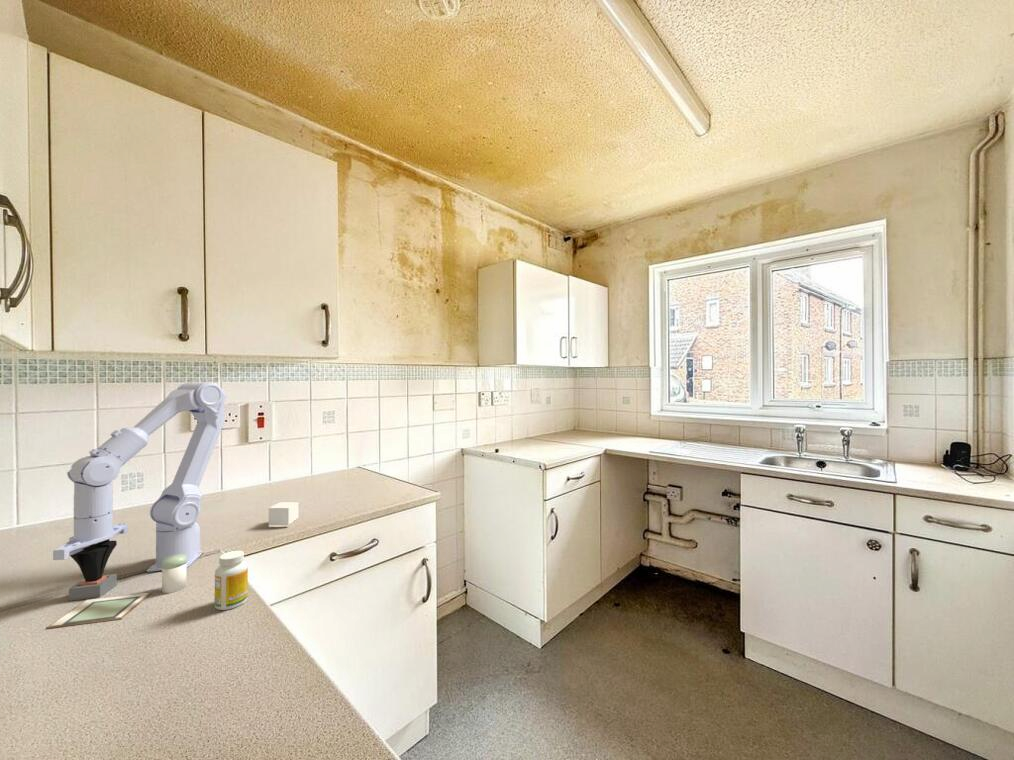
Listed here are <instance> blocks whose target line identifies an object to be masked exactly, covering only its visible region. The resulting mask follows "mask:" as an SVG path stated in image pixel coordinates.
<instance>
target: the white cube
mask: <svg viewBox="0 0 1014 760" xmlns="http://www.w3.org/2000/svg"><path fill="white" fill-rule="evenodd" d="M299 505H300V503H299V502H297V501H296V502H295V501H287V502H286V501H285V502H284V501H283V502H282V501H280V502H278V503H275V504H274V505H271V506H269V507H268V526H269V525H289V524H290V523H292V522H293V521H294V520H296V519H297V518H300V517H299V514H300V513H299V510H300V509H299Z"/></svg>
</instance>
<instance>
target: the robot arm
mask: <svg viewBox="0 0 1014 760" xmlns="http://www.w3.org/2000/svg"><path fill="white" fill-rule="evenodd" d="M226 399H227V394H226V393H225V391H224V390H223V389H222V387H221V386H220V385H219V384H217V383H215V382H213V381H212V382H210V381H208V382H185V383H182V384H181V385H179V386H178V387H177V388H176V389H174V390H172V391H170V392H169V394H168V395H167V396H166V397H165V398H164V399H163V401H161V402H160V403H158V405H157V406H155V407H154V408H153V409H152V410H151V411H150V412H149V413H148V414H146V415H145V416H144V417H143V418H142V419H141V420H140V421H139V422H138V423H136V424H135V425H134V426H133V427H124V428H121V429H120V430H114V431H113V432H111V433H110V436H111V437H110V438H109V439H107V440H106V441H105V442H103V443H102V444H101V445H100V446H98V447H97V448H92V449H91V450H90V451H89V452H88V453H89V456H88V455H87V456H85V457H81V458H78V459H77V460H76V461H74V462H73V464H72V465H71V468H70V469H69V471H67V473H66V474H67V478H68V479H69V480H70V481H71V482H72V483H73V489H74V490H73V536H71V537H69V538H68V539H69V540H68V542H66V543H64V544H63V545H61V546H59V547H58V548H55V549H53V550H52V561H63V560H64V561H65V560H67V559H69V558H70V557H71V558H72V560H74V562H75V563H76V564H77V565H78V567H79V569H80V570H81V574H82V576H83V580H84V579H85V581H86V582H90V581H97V580H99V579H101V578H102V575H104V571H105V568H106V566H107V564H108V561H109V558H110V556H111V554H112V552H113V551H114V550H115V548H116V547H117V545H118V544H117V540H111V539H112V538H114V537H117V536H119V535H121V534H127V533H128V532H129V523H117V524H114V507H113V504H114V489H113V487H114V486H113V482H114V480H116V479H117V478H118V477H119V474H120V471H121V468H122V467H123V466H124V465H125V464H126V463H128V462H129V461H130V460H131V459H132V458H134V456H136V455H137V454H138V453H140V451H142V450H143V449H144V448H145V447H146V446H147V445H148V444H149V443H148V442H149V437H150V435H152V434H153V433H155V431H157V430H158V429H159V428H161V427H162V426H163V425H165V424H166V423H168V422H169V421H170V420H171V419H173V418H174V417H175V416H177V415H178V414H179V413H182V412H187V411H188V412H190V413H191V414H192V415H193V417H194V418H195V420H196V422H197V423H196V425H195V427H194V430H193V432H192V435H191V437H190V439H189V442H188V445H187V446H186V450H185V451H184V454H183V456H182V459H181V461H180V464H179V466H178V468H177V471H176V473H175V475H174V478H173V480H172V483H171V484H169V485H168V486H167V487H166V488H164V489H163V490H162V492H161V494H160V496H159V497H158V499H157V500H156V501H155V502H154V503H153V504H152V505H151V507H150V508H149V509H150V510H149V516H150V518H151V520H152V521H154V522H155V524H156V525H155V563H154V564H152V565H151V566H150V567H149V568H147V569H146V572H147V573H149V572H151V573H152V572H158V571H161V572H162V559H164V558H166V557H168V556H171V555H175V554H186V568H188V567H189V566H190V565H191V564H193V563H194V562H195V561H196V560H197V559H199V557H201V556H202V555H201V553H200V554H197V553H198V552H202V550H203V551H205V549H201V527H200V525H199V524H198V523H197V522H196V521H197V520H198V519H199V517H200V515H201V513H202V512H201V510H202V508H201V502H202V499H203V494H202V492H201V490H200V485H201V482H202V480H203V477H204V474H205V472H206V470H207V468H208V465H209V462H210V460H211V456H212V454H213V452H214V449H215V447H216V444H217V442H218V439H219V437H220V435H221V431H222V429H223V426H224V424H225V421H226V412H225V401H226ZM200 555H201V556H200Z"/></svg>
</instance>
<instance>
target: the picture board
mask: <svg viewBox="0 0 1014 760" xmlns="http://www.w3.org/2000/svg"><path fill="white" fill-rule="evenodd" d="M152 593H153V592H152V591H150V592H140V593H132V594H126V595H125V594H123V595H117V596H109V597H108V596H107V597H97V598H89V599H84V601H83V602H81V603H79V604H78V605H76V606H75V607H74V608H72V609H70V611H68V612H66V613H65V614H64V615H62V616H61V617H60V618H59V617H58V619H57V620H55V621H54V622H52V623H51V624H49V625H48V626H46V627H45V630H47V629H48V630H49V629H55V628H56V629H58V628H64V627H73V626H80V625H86V624H87V625H88V624H94V623H96V624H97V623H101V622H110V621H117V620H118V621H119V620H123V619H124V618H125V617H126V616H127V615H128V614H129V613H131V612H132V611H133V610H134V609H135V608H136V607H137V606H138V605H140V604H141V603H142V602H143V601H145V599H147V598H148V597H149V596H151V594H152Z"/></svg>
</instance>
